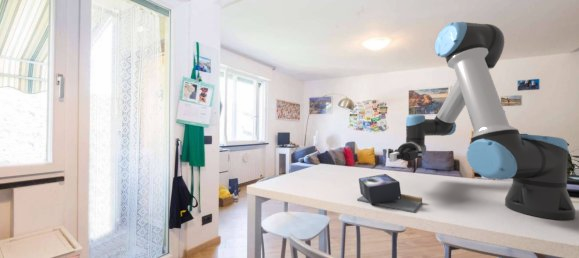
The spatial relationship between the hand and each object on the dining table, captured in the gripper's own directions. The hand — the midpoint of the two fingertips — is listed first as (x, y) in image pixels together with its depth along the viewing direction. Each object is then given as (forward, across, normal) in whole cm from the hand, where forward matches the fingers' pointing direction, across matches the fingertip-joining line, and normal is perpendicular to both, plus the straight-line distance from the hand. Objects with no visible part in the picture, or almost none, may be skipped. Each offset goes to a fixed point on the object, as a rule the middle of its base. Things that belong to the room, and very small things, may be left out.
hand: (391, 157), depth 85 cm
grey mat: (+2, 0, -15) cm, 15 cm away
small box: (-1, +7, -10) cm, 12 cm away
